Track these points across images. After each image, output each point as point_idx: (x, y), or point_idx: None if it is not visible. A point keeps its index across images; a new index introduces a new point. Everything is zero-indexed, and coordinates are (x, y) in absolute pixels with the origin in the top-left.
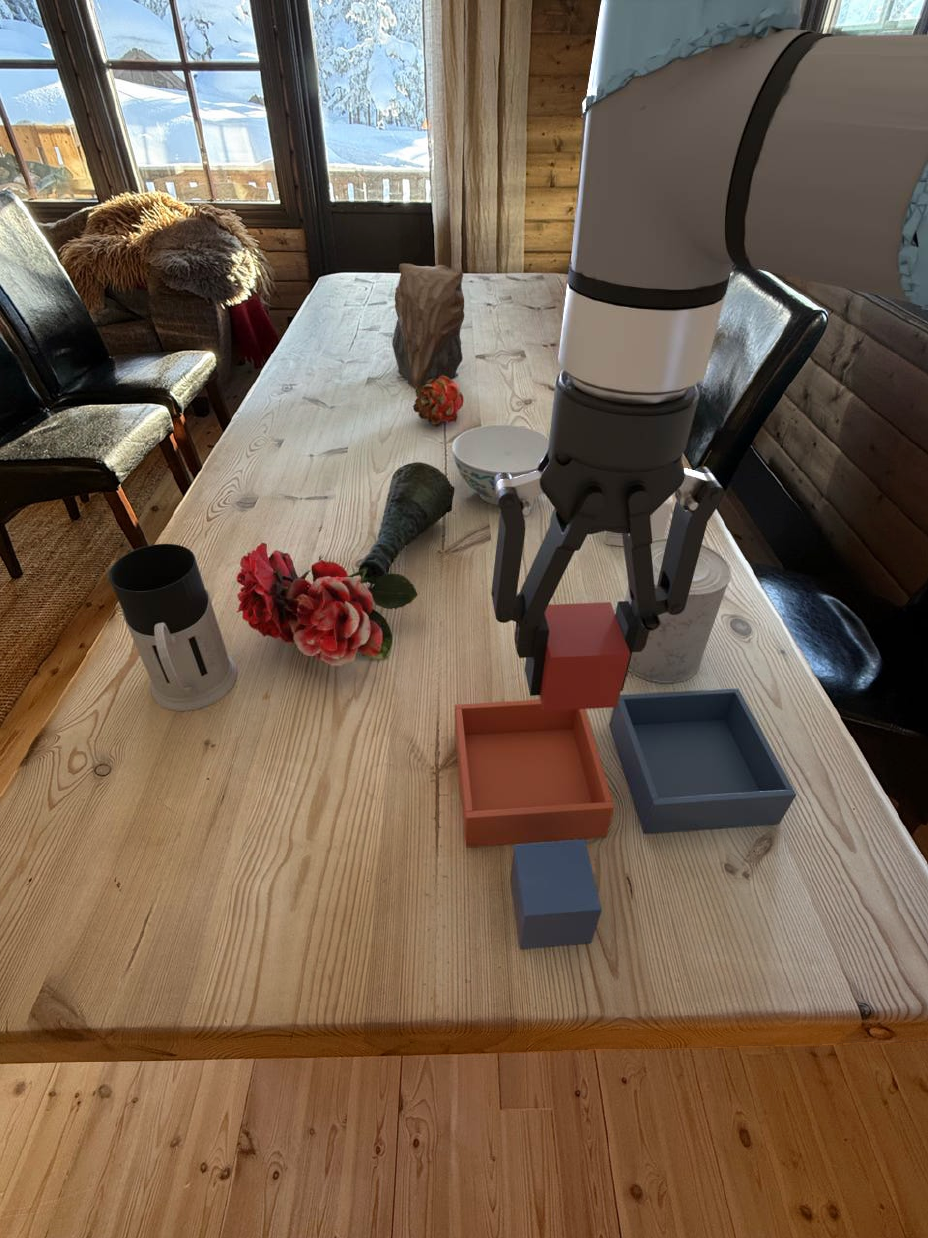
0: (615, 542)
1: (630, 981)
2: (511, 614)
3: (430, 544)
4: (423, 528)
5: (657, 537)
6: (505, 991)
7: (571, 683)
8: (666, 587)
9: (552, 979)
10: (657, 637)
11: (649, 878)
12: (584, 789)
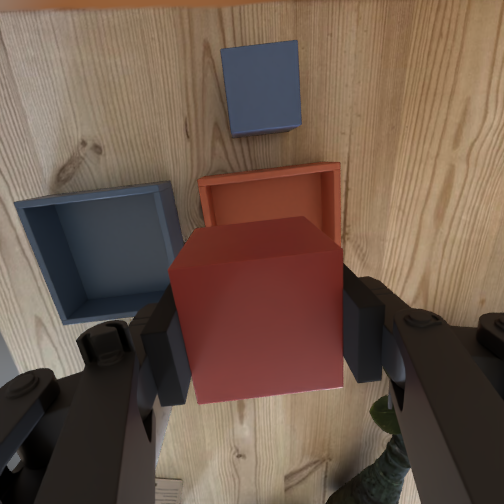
0: (172, 483)
1: (193, 36)
2: (498, 331)
3: (337, 466)
4: (354, 487)
5: None
6: (299, 25)
7: (276, 234)
8: (44, 455)
9: (259, 37)
10: None
11: (169, 137)
12: (219, 221)
